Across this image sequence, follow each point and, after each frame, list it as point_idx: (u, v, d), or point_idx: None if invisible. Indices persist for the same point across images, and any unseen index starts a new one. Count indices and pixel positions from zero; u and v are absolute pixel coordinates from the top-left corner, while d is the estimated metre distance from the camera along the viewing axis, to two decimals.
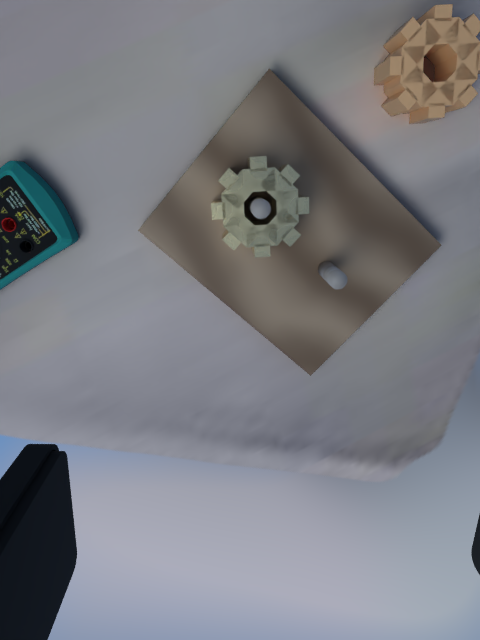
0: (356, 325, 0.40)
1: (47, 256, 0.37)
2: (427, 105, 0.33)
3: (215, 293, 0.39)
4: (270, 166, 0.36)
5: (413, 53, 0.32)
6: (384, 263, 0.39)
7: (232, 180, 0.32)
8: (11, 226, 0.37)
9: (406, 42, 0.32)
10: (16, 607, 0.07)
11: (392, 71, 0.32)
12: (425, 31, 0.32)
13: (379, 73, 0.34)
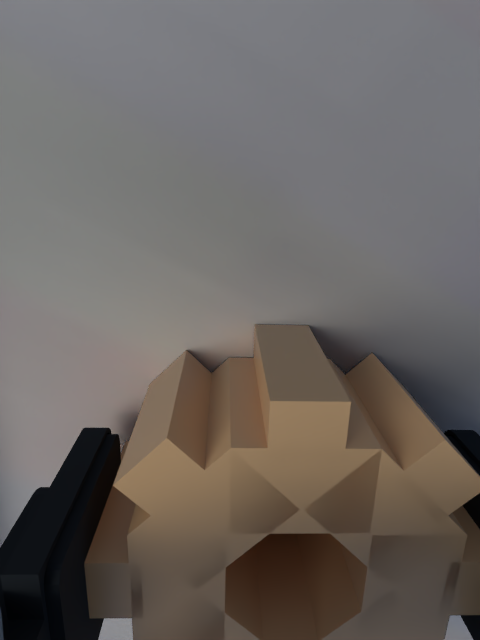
0: None
1: None
2: None
3: None
4: None
5: (247, 498, 0.07)
6: None
7: None
8: None
9: (258, 447, 0.07)
10: None
11: (133, 482, 0.07)
12: (343, 475, 0.07)
13: (159, 393, 0.09)
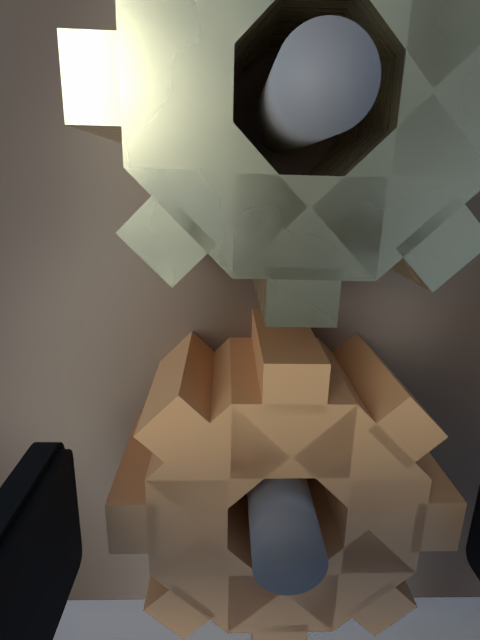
0: None
1: None
2: (167, 584, 0.09)
3: None
4: None
5: (245, 447, 0.08)
6: None
7: None
8: None
9: (255, 404, 0.08)
10: (24, 603, 0.07)
11: (150, 434, 0.08)
12: (326, 427, 0.08)
13: (169, 366, 0.10)
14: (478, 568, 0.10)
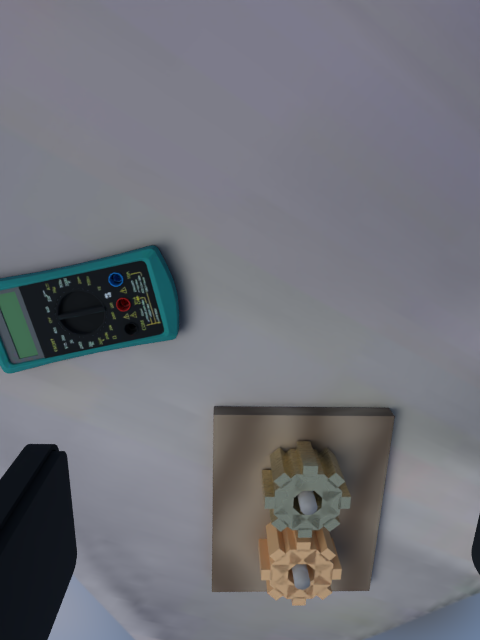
0: None
1: (146, 343, 0.37)
2: (273, 587, 0.41)
3: (214, 494, 0.42)
4: None
5: (292, 558, 0.40)
6: None
7: (311, 474, 0.37)
8: (122, 303, 0.36)
9: (294, 549, 0.39)
10: (16, 607, 0.07)
11: (272, 555, 0.40)
12: (309, 553, 0.40)
13: (271, 532, 0.42)
14: None
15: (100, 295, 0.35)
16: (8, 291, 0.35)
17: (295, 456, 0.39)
